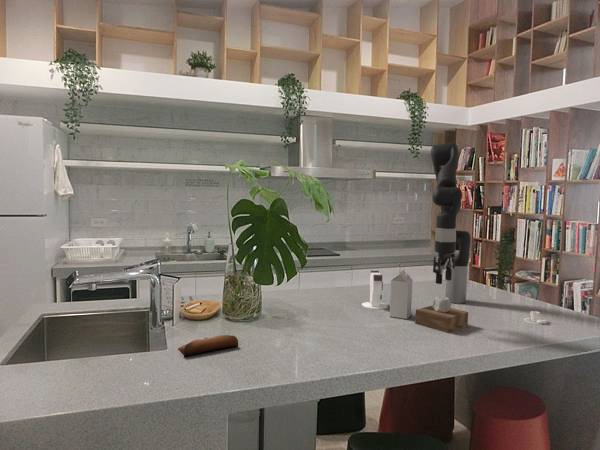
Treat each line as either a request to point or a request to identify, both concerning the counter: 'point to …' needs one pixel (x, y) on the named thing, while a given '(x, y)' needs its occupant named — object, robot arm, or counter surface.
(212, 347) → the sunglasses case
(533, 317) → the teacup and saucer
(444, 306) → the die
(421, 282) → the counter surface
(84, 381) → the counter surface
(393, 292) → the milk carton
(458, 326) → the walnut block
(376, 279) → the white device on stand
